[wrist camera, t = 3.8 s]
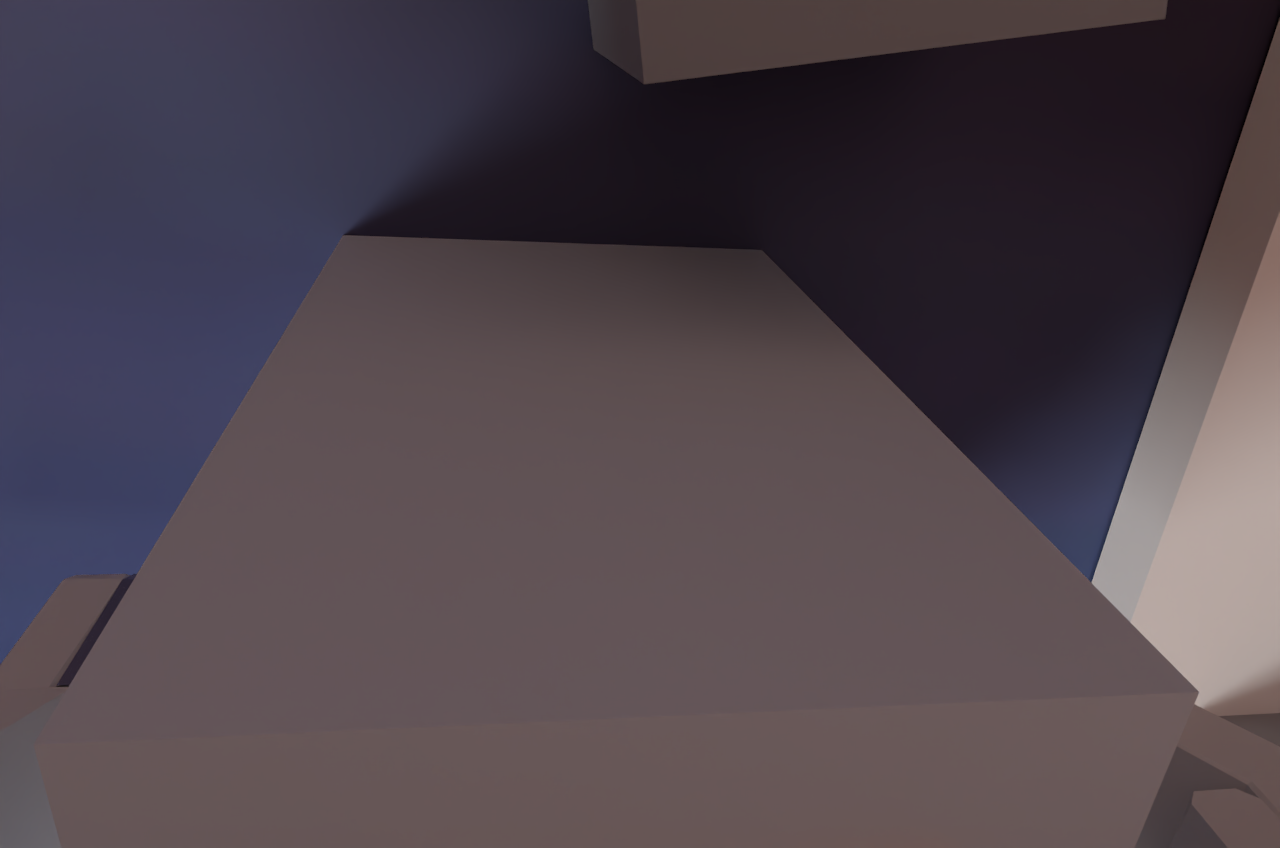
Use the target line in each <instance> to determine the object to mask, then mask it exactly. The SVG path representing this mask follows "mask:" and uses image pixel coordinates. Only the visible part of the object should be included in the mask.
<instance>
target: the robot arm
mask: <svg viewBox="0 0 1280 848" xmlns="http://www.w3.org/2000/svg"><path fill="white" fill-rule="evenodd" d="M136 575H137V574H133V575H131V576H130V575H127V574H99V575H75V576H72V577H69V578H66V579H64V580H63V581H62V582H61V583H60V584H59V586H58V587H57V588H56V590H55V591H54V592H53V594H52V595H51V596H50V598H49V599H48V601H47V602H46V603H45V605H44V606H43V607H42V609H41V610H40V611H39V613H38V614H37V616H36V617H35V618H34V620H33V621H32V622H31V624H30V625H29V626H28V628H27V629H26V630H25V632H24V633H23V635H22V636H21V637H20V639H19V640H18V641H17V643H16V644H15V645H14V647H13V648H12V649H11V651H10V652H9V654H8V655H7V656H6V658H5V659H4V660H3V662H2V663H1V664H0V848H61V845H60V841H59V837H58V833H57V830H56V826H55V822H54V819H53V815H52V811H51V808H50V804H49V800H48V797H47V793H46V789H45V786H44V782H43V778H42V775H41V771H40V767H39V764H38V760H37V756H36V753H35V749H34V745H33V744H34V743H35V741H36V740H37V738H38V736H39V735H40V733H41V731H42V730H43V728H44V726H45V725H46V723H47V721H48V720H49V718H50V717H51V715H52V713H53V712H54V710H55V708H56V707H57V705H58V703H59V702H60V700H61V698H62V697H63V695H64V694H65V692H66V690H67V689H68V687H69V685H70V684H71V682H72V680H73V679H74V677H75V675H76V674H77V672H78V670H79V669H80V667H81V666H82V664H83V662H84V661H85V659H86V657H87V656H88V654H89V652H90V651H91V649H92V647H93V646H94V644H95V643H96V641H97V639H98V638H99V636H100V634H101V633H102V631H103V629H104V628H105V626H106V624H107V623H108V621H109V619H110V618H111V616H112V615H113V613H114V611H115V610H116V608H117V606H118V605H119V603H120V601H121V600H122V598H123V596H124V595H125V593H126V592H127V590H128V588H129V587H130V585H131V583H132V582H133V580H134V578H135V577H136ZM1135 848H1280V747H1279V746H1277V745H1275V744H1273V743H1271V742H1269V741H1267V740H1265V739H1263V738H1261V737H1259V736H1257V735H1255V734H1253V733H1251V732H1249V731H1247V730H1245V729H1243V728H1241V727H1239V726H1237V725H1235V724H1233V723H1231V722H1229V721H1227V720H1225V719H1223V718H1221V717H1219V716H1217V715H1215V714H1213V713H1211V712H1209V711H1207V710H1205V709H1203V708H1201V707H1199V706H1197V705H1195V704H1194V706H1193V708H1192V711H1191V713H1190V716H1189V718H1188V720H1187V723H1186V725H1185V728H1184V730H1183V732H1182V735H1181V737H1180V740H1179V742H1178V744H1177V747H1176V749H1175V752H1174V754H1173V756H1172V759H1171V761H1170V764H1169V766H1168V768H1167V771H1166V773H1165V776H1164V778H1163V780H1162V783H1161V785H1160V788H1159V790H1158V792H1157V795H1156V797H1155V800H1154V802H1153V804H1152V807H1151V809H1150V812H1149V814H1148V816H1147V819H1146V821H1145V824H1144V826H1143V828H1142V831H1141V833H1140V836H1139V838H1138V840H1137V843H1136V845H1135Z"/></svg>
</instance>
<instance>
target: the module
mask: <svg viewBox="0 0 1280 848" xmlns="http://www.w3.org/2000/svg"><path fill="white" fill-rule="evenodd" d="M1198 694H1199V691H1198V690H1197V689H1196V688H1195V687H1194V686H1193V685H1192V684H1191V683H1190V682H1189V681H1188V680H1187V679H1186V678H1185V677H1184V676H1183V675H1182V674H1181V673H1180V672H1179V671H1178V670H1177V669H1176V668H1175V667H1174V666H1173V665H1172V664H1171V663H1170V662H1169V661H1168V660H1167V659H1166V658H1165V657H1164V656H1163V655H1162V654H1161V653H1160V652H1159V651H1158V650H1157V649H1156V648H1155V647H1154V646H1153V645H1152V644H1151V643H1150V642H1149V641H1148V640H1147V639H1146V638H1145V637H1144V636H1143V635H1142V634H1141V633H1140V632H1139V631H1138V630H1137V629H1136V628H1135V627H1134V626H1133V625H1132V624H1131V622H1130V621H1129V620H1128V619H1127V618H1126V617H1125V616H1124V615H1123V614H1122V613H1121V612H1120V611H1119V610H1118V609H1117V608H1116V607H1115V606H1114V605H1113V604H1112V603H1111V602H1110V601H1109V600H1108V599H1107V598H1106V597H1105V596H1104V595H1103V594H1102V593H1101V592H1100V591H1099V590H1098V589H1097V588H1096V587H1095V586H1094V585H1093V584H1092V583H1091V582H1090V581H1089V580H1088V579H1087V578H1086V577H1085V576H1084V575H1083V574H1082V573H1081V572H1080V571H1079V570H1078V569H1077V568H1076V567H1075V566H1074V565H1073V564H1072V563H1071V562H1070V561H1069V560H1068V559H1067V558H1066V557H1065V556H1064V555H1063V554H1062V553H1061V552H1060V551H1059V550H1058V549H1057V548H1056V547H1055V546H1054V545H1053V544H1052V543H1051V542H1050V541H1049V540H1048V539H1047V538H1046V537H1045V536H1044V535H1043V534H1042V533H1041V532H1040V531H1039V530H1038V529H1037V528H1036V527H1035V525H1034V524H1033V523H1032V522H1031V521H1030V520H1029V519H1028V518H1027V517H1026V516H1025V515H1024V514H1023V513H1022V512H1021V511H1020V510H1019V509H1018V508H1017V507H1016V506H1015V505H1014V504H1013V503H1012V502H1011V501H1010V500H1009V499H1008V498H1007V497H1006V496H1005V495H1004V494H1003V493H1002V492H1001V491H1000V490H999V489H998V488H997V487H996V486H995V485H994V484H993V483H992V482H991V481H990V480H989V479H988V478H987V477H986V476H985V475H984V474H983V473H982V472H981V471H980V470H979V469H978V468H977V467H976V466H975V465H974V464H973V463H972V462H971V461H970V460H969V459H968V458H967V457H966V456H965V455H964V454H963V453H962V452H961V451H960V450H959V449H958V448H957V447H956V446H955V445H954V444H953V443H952V442H951V441H950V440H949V439H948V438H947V437H946V436H945V435H944V434H943V433H942V432H941V431H940V430H939V428H938V427H937V426H936V425H935V424H934V423H933V422H932V421H931V420H930V419H929V418H928V417H927V416H926V415H925V414H924V413H923V412H922V411H921V410H920V409H919V408H918V407H917V406H916V405H915V404H914V403H913V402H912V401H911V400H910V399H909V398H908V397H907V396H906V395H905V394H904V393H903V392H902V391H901V390H900V389H899V388H898V387H897V386H896V385H895V384H894V383H893V382H892V381H891V380H890V379H889V378H888V377H887V376H886V375H885V374H884V373H883V372H882V371H881V370H880V369H879V368H878V367H877V366H876V365H875V364H874V363H873V362H872V361H871V360H870V359H869V358H868V357H867V356H866V355H865V354H864V353H863V352H862V351H861V350H860V349H859V348H858V347H857V346H856V345H855V344H854V343H853V342H852V341H851V340H850V339H849V338H848V337H847V336H846V335H845V334H844V333H843V331H842V330H841V329H840V328H839V327H838V326H837V325H836V324H835V323H834V322H833V321H832V320H831V319H830V318H829V317H828V316H827V315H826V314H825V313H824V312H823V311H822V310H821V309H820V308H819V307H818V306H817V305H816V304H815V303H814V302H813V301H812V300H811V299H810V298H809V297H808V296H807V295H806V294H805V293H804V292H803V291H802V290H801V289H800V288H799V287H798V286H797V285H796V284H795V283H794V282H793V281H792V280H791V279H790V278H789V277H788V276H787V275H786V274H785V273H784V272H783V271H782V270H781V269H780V268H779V267H778V266H777V265H776V264H775V263H774V262H773V261H772V260H771V259H770V258H769V257H768V256H767V255H766V254H765V253H764V252H763V251H762V250H752V249H723V248H695V247H666V246H638V245H609V244H581V243H552V242H523V241H495V240H466V239H438V238H409V237H381V236H352V235H343V236H342V238H341V239H340V241H339V243H338V244H337V246H336V248H335V249H334V251H333V253H332V254H331V256H330V258H329V259H328V261H327V263H326V264H325V266H324V267H323V269H322V271H321V272H320V274H319V276H318V277H317V279H316V281H315V282H314V284H313V286H312V287H311V289H310V290H309V292H308V294H307V295H306V297H305V299H304V300H303V302H302V304H301V305H300V307H299V309H298V310H297V312H296V314H295V315H294V317H293V318H292V320H291V322H290V323H289V325H288V327H287V328H286V330H285V332H284V333H283V335H282V337H281V338H280V340H279V341H278V343H277V345H276V346H275V348H274V350H273V351H272V353H271V355H270V356H269V358H268V360H267V361H266V363H265V365H264V366H263V368H262V369H261V371H260V373H259V374H258V376H257V378H256V379H255V381H254V383H253V384H252V386H251V388H250V389H249V391H248V392H247V394H246V396H245V397H244V399H243V401H242V402H241V404H240V406H239V407H238V409H237V411H236V412H235V414H234V415H233V417H232V419H231V420H230V422H229V424H228V425H227V427H226V429H225V430H224V432H223V434H222V435H221V437H220V439H219V440H218V442H217V443H216V445H215V447H214V448H213V450H212V452H211V453H210V455H209V457H208V458H207V460H206V462H205V463H204V465H203V466H202V468H201V470H200V471H199V473H198V475H197V476H196V478H195V480H194V481H193V483H192V485H191V486H190V488H189V490H188V491H187V493H186V494H185V496H184V498H183V499H182V501H181V503H180V504H179V506H178V508H177V509H176V511H175V513H174V514H173V516H172V517H171V519H170V521H169V522H168V524H167V526H166V527H165V529H164V531H163V532H162V534H161V536H160V537H159V539H158V541H157V542H156V544H155V545H154V547H153V549H152V550H151V552H150V554H149V555H148V557H147V559H146V560H145V562H144V564H143V565H142V567H141V568H140V570H139V572H138V573H137V575H136V577H135V578H134V580H133V582H132V583H131V585H130V587H129V588H128V590H127V592H126V593H125V595H124V596H123V598H122V600H121V601H120V603H119V605H118V606H117V608H116V610H115V611H114V613H113V615H112V616H111V618H110V619H109V621H108V623H107V624H106V626H105V628H104V629H103V631H102V633H101V634H100V636H99V638H98V639H97V641H96V643H95V644H94V646H93V647H92V649H91V651H90V652H89V654H88V656H87V657H86V659H85V661H84V662H83V664H82V666H81V667H80V669H79V670H78V672H77V674H76V675H75V677H74V679H73V680H72V682H71V684H70V685H69V687H68V689H67V690H66V692H65V694H64V695H63V697H62V698H61V700H60V702H59V703H58V705H57V707H56V708H55V710H54V712H53V713H52V715H51V717H50V718H49V720H48V721H47V723H46V725H45V726H44V728H43V730H42V731H41V733H40V735H39V736H38V738H37V740H36V741H35V743H34V744H33V745H34V749H35V753H36V756H37V760H38V764H39V767H40V771H41V775H42V778H43V782H44V786H45V789H46V793H47V797H48V800H49V804H50V808H51V811H52V815H53V819H54V822H55V826H56V830H57V833H58V837H59V841H60V845H61V848H1135V845H1136V843H1137V840H1138V838H1139V836H1140V833H1141V831H1142V828H1143V826H1144V824H1145V821H1146V819H1147V816H1148V814H1149V812H1150V809H1151V807H1152V804H1153V802H1154V800H1155V797H1156V795H1157V792H1158V790H1159V788H1160V785H1161V783H1162V780H1163V778H1164V776H1165V773H1166V771H1167V768H1168V766H1169V764H1170V761H1171V759H1172V756H1173V754H1174V752H1175V749H1176V747H1177V744H1178V742H1179V740H1180V737H1181V735H1182V732H1183V730H1184V728H1185V725H1186V723H1187V720H1188V718H1189V716H1190V713H1191V711H1192V708H1193V706H1194V704H1195V701H1196V699H1197V696H1198Z"/></svg>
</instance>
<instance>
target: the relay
mask: <svg viewBox="0 0 1280 848" xmlns="http://www.w3.org/2000/svg"><path fill="white" fill-rule="evenodd" d="M1167 2H1168V0H588V7H589V15H590V24H591V32H592V41H593V49H594V50H595V51H597V52H598V53H599V54H601V55H602V56H604V57H605V58H607V59H608V60H610V61H611V62H612V63H614V64H615V65H617V66H618V67H620V68H621V69H623V70H624V71H625V72H627V73H628V74H630V75H631V76H633V77H634V78H636V79H637V80H639V81H640V82H641V83H643V84H651V83H659V82H667V81H675V80H683V79H691V78H699V77H707V76H715V75H722V74H730V73H738V72H746V71H754V70H762V69H770V68H778V67H786V66H794V65H802V64H810V63H818V62H826V61H834V60H842V59H850V58H858V57H866V56H874V55H882V54H890V53H898V52H906V51H914V50H922V49H929V48H937V47H945V46H953V45H961V44H969V43H977V42H985V41H993V40H1001V39H1009V38H1017V37H1025V36H1033V35H1041V34H1049V33H1057V32H1065V31H1073V30H1081V29H1089V28H1097V27H1105V26H1113V25H1121V24H1129V23H1136V22H1144V21H1152V20H1160V19H1165V17H1166V9H1167Z"/></svg>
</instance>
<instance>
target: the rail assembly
mask: <svg viewBox="0 0 1280 848" xmlns="http://www.w3.org/2000/svg"><path fill="white" fill-rule="evenodd" d="M1092 584H1093V585H1094V586H1095V587H1096V588H1097V589H1098V590H1099V591H1100V592H1101V593H1102V594H1103V595H1104V596H1105V597H1106V598H1107V599H1108V600H1109V601H1110V602H1111V603H1112V604H1113V605H1114V606H1115V607H1116V608H1117V609H1118V610H1119V611H1120V612H1121V613H1122V614H1123V615H1124V616H1125V617H1126V618H1127V619H1128V620H1129V621H1130V622H1131V624H1132V625H1133V626H1134V627H1135V628H1136V629H1137V630H1138V631H1139V632H1140V633H1141V634H1142V635H1143V636H1144V637H1145V638H1146V639H1147V640H1148V641H1149V642H1150V643H1151V644H1152V645H1153V646H1154V647H1155V648H1156V649H1157V650H1158V651H1159V652H1160V653H1161V654H1162V655H1163V656H1164V657H1165V658H1166V659H1167V660H1168V661H1169V662H1170V663H1171V664H1172V665H1173V666H1174V667H1175V668H1176V669H1177V670H1178V671H1179V672H1180V673H1181V674H1182V675H1183V676H1184V677H1185V678H1186V679H1187V680H1188V681H1189V682H1190V683H1191V684H1192V685H1193V686H1194V687H1195V688H1196V689H1197V690H1198V691H1199V694H1198V696H1197V699H1196V701H1195V705H1197V706H1199V707H1201V708H1203V709H1205V710H1207V711H1209V712H1211V713H1213V714H1215V715H1217V716H1219V717H1221V718H1223V719H1225V720H1227V721H1229V722H1231V723H1233V724H1235V725H1237V726H1239V727H1241V728H1243V729H1245V730H1247V731H1249V732H1251V733H1253V734H1255V735H1257V736H1259V737H1261V738H1263V739H1265V740H1267V741H1269V742H1271V743H1273V744H1275V745H1277V746H1279V747H1280V19H1279V22H1278V25H1277V28H1276V31H1275V34H1274V37H1273V40H1272V43H1271V46H1270V49H1269V52H1268V55H1267V58H1266V61H1265V64H1264V67H1263V70H1262V73H1261V76H1260V79H1259V82H1258V85H1257V88H1256V91H1255V94H1254V97H1253V100H1252V103H1251V106H1250V109H1249V112H1248V115H1247V118H1246V121H1245V124H1244V127H1243V130H1242V133H1241V136H1240V139H1239V142H1238V145H1237V148H1236V151H1235V154H1234V157H1233V160H1232V163H1231V166H1230V169H1229V172H1228V175H1227V178H1226V181H1225V184H1224V187H1223V190H1222V193H1221V196H1220V199H1219V202H1218V205H1217V208H1216V211H1215V214H1214V217H1213V220H1212V223H1211V226H1210V229H1209V232H1208V235H1207V238H1206V241H1205V244H1204V247H1203V250H1202V253H1201V256H1200V259H1199V262H1198V265H1197V268H1196V271H1195V274H1194V277H1193V280H1192V283H1191V286H1190V289H1189V292H1188V295H1187V298H1186V301H1185V304H1184V307H1183V310H1182V313H1181V316H1180V319H1179V322H1178V325H1177V328H1176V331H1175V334H1174V337H1173V340H1172V343H1171V346H1170V349H1169V352H1168V355H1167V358H1166V361H1165V364H1164V367H1163V370H1162V373H1161V376H1160V379H1159V382H1158V385H1157V388H1156V391H1155V394H1154V397H1153V400H1152V403H1151V406H1150V409H1149V412H1148V415H1147V418H1146V421H1145V424H1144V427H1143V430H1142V433H1141V436H1140V439H1139V442H1138V445H1137V448H1136V451H1135V454H1134V457H1133V460H1132V463H1131V466H1130V469H1129V472H1128V475H1127V478H1126V481H1125V484H1124V487H1123V490H1122V493H1121V496H1120V499H1119V502H1118V505H1117V508H1116V511H1115V514H1114V517H1113V520H1112V523H1111V526H1110V529H1109V532H1108V535H1107V538H1106V541H1105V544H1104V547H1103V550H1102V553H1101V556H1100V559H1099V562H1098V565H1097V568H1096V571H1095V574H1094V577H1093V580H1092Z"/></svg>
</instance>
